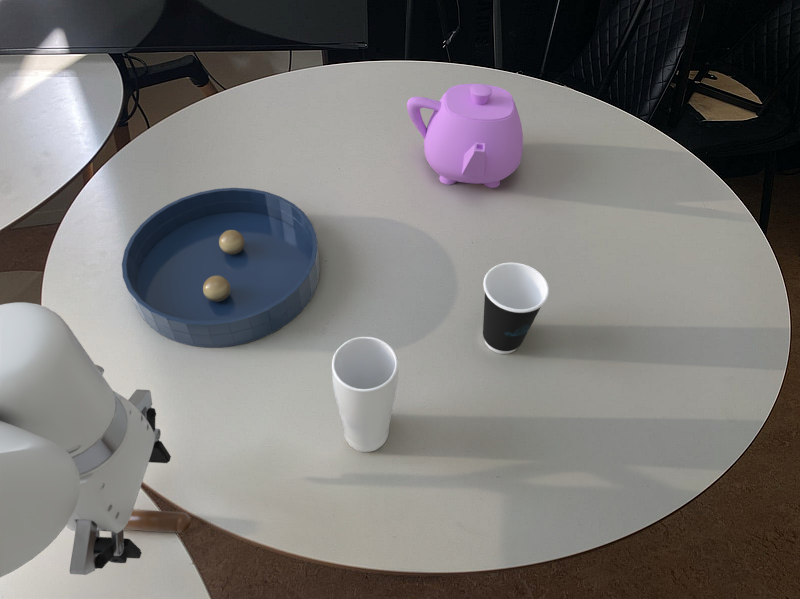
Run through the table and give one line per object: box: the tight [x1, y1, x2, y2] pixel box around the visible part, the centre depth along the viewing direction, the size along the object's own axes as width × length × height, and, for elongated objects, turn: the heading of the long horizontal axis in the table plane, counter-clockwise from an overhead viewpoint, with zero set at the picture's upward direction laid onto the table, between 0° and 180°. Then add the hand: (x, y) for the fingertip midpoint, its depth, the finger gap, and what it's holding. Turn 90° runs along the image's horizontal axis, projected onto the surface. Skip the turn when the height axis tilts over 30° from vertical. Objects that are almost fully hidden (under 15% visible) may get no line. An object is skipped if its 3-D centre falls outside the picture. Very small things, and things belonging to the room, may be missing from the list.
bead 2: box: [219, 230, 245, 255], centre depth 87 cm, size 4×4×4 cm
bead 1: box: [203, 276, 230, 302], centre depth 82 cm, size 4×4×4 cm
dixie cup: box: [482, 261, 550, 355], centre depth 76 cm, size 8×8×11 cm
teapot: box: [406, 83, 524, 189], centre depth 97 cm, size 20×20×15 cm
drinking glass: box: [331, 336, 399, 453], centre depth 65 cm, size 7×7×15 cm
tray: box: [121, 187, 321, 348], centre depth 85 cm, size 26×26×5 cm
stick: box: [123, 508, 192, 534], centre depth 63 cm, size 2×9×2 cm, turn 87°
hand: (141, 504), depth 61 cm, fingers open, 9 cm apart
